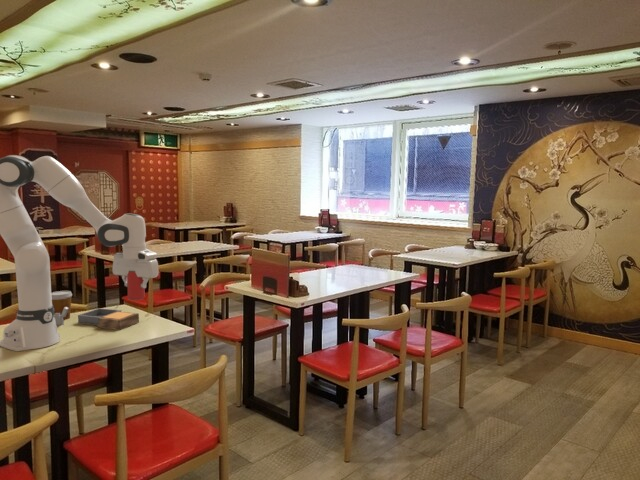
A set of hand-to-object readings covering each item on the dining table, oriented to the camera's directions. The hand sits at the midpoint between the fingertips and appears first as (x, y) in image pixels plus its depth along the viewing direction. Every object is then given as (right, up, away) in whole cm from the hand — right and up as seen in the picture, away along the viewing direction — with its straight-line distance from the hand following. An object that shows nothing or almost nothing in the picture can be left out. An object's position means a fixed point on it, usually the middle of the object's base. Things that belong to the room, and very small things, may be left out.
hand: (135, 287), depth 196 cm
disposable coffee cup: (-43, -17, +24) cm, 52 cm away
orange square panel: (-13, -15, +14) cm, 24 cm away
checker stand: (-13, -18, +14) cm, 26 cm away
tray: (-24, -17, +21) cm, 36 cm away
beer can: (0, -5, +1) cm, 5 cm away
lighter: (-38, -18, +14) cm, 44 cm away
